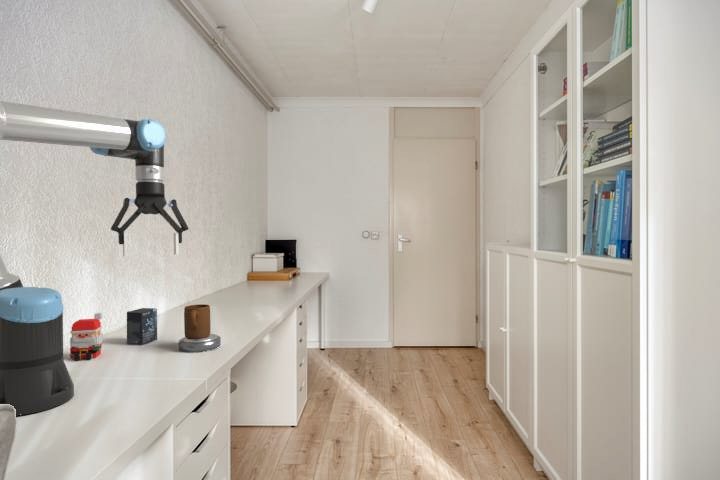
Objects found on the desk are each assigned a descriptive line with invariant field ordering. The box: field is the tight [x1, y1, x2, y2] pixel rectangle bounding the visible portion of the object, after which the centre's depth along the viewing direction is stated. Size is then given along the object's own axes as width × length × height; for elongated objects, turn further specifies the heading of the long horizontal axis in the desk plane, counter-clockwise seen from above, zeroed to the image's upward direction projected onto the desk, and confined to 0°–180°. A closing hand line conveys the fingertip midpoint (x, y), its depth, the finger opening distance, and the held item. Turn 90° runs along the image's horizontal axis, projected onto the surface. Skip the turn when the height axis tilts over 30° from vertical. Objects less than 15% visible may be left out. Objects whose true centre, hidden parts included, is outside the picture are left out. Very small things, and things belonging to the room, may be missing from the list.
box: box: [126, 307, 158, 346], centre depth 143 cm, size 8×6×11 cm
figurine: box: [69, 312, 103, 362], centre depth 125 cm, size 8×7×12 cm
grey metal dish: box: [178, 333, 221, 353], centre depth 135 cm, size 12×12×3 cm
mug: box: [183, 304, 211, 339], centre depth 134 cm, size 12×8×9 cm, turn 11°
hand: (151, 255), depth 128 cm, fingers open, 13 cm apart
